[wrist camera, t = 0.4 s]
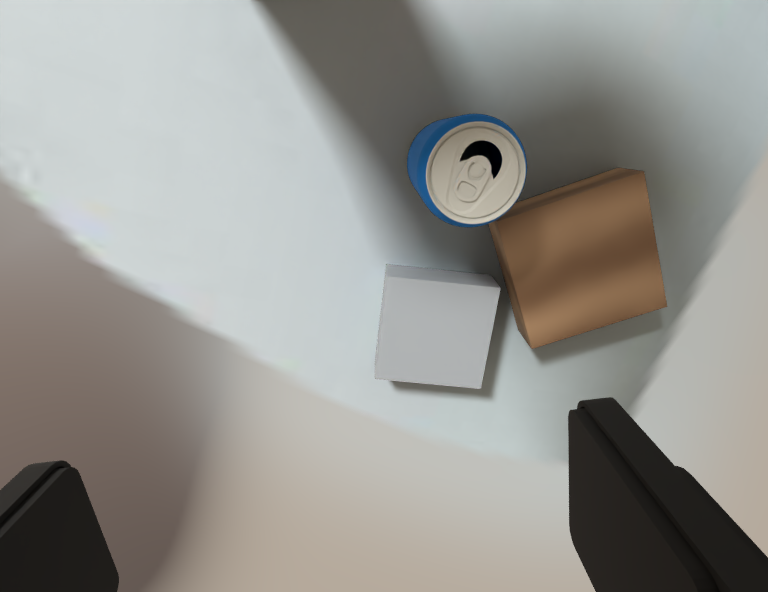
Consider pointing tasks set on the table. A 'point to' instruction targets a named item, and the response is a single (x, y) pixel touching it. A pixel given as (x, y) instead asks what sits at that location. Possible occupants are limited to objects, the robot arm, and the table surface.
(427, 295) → the grey square block
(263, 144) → the table surface
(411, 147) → the beverage can
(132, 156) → the table surface
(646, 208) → the walnut block
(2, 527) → the robot arm
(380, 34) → the table surface
